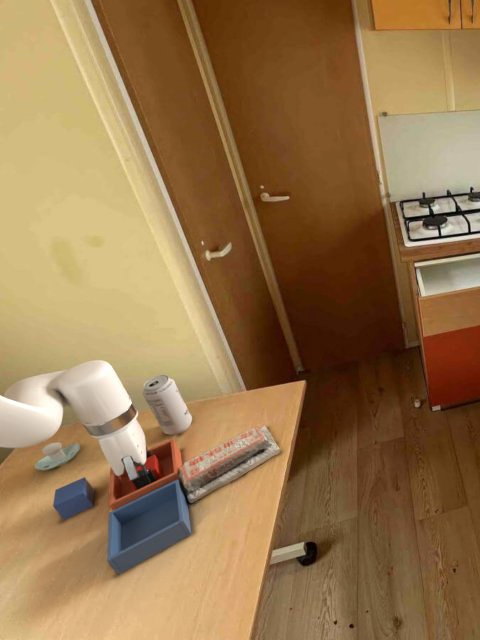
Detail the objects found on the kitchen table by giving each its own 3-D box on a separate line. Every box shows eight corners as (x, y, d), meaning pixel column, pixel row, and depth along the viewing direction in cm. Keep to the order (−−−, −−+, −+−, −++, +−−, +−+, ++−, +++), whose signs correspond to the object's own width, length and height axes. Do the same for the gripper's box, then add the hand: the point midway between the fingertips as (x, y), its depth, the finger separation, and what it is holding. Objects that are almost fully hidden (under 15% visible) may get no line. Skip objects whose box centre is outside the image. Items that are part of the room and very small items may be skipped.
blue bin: (118, 574, 77) (107, 561, 75) (118, 526, 84) (108, 512, 82) (191, 534, 83) (183, 520, 81) (185, 492, 91) (178, 478, 89)
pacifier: (38, 463, 97) (40, 478, 93) (24, 444, 94) (25, 459, 91) (81, 442, 102) (84, 456, 98) (68, 424, 99) (71, 437, 96)
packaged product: (182, 491, 86) (172, 460, 92) (190, 506, 88) (180, 474, 94) (276, 439, 97) (262, 414, 103) (281, 453, 99) (267, 428, 105)
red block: (137, 494, 89) (128, 481, 87) (137, 479, 93) (128, 466, 90) (163, 482, 92) (155, 468, 90) (162, 467, 95) (154, 454, 93)
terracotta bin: (118, 519, 86) (108, 505, 84) (119, 479, 93) (110, 466, 91) (185, 486, 92) (177, 472, 90) (180, 451, 100) (173, 438, 98)
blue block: (63, 519, 85) (52, 506, 83) (66, 503, 89) (55, 489, 86) (93, 506, 88) (83, 492, 86) (94, 490, 91) (84, 476, 89)
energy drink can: (198, 422, 107) (177, 378, 100) (172, 440, 102) (148, 395, 95) (185, 413, 110) (163, 370, 103) (159, 431, 105) (134, 386, 98)
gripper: (88, 401, 87) (125, 459, 95) (82, 457, 75) (125, 518, 84) (134, 384, 91) (166, 441, 100) (136, 435, 79) (171, 495, 88)
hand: (147, 475), depth 92 cm, fingers open, 4 cm apart
